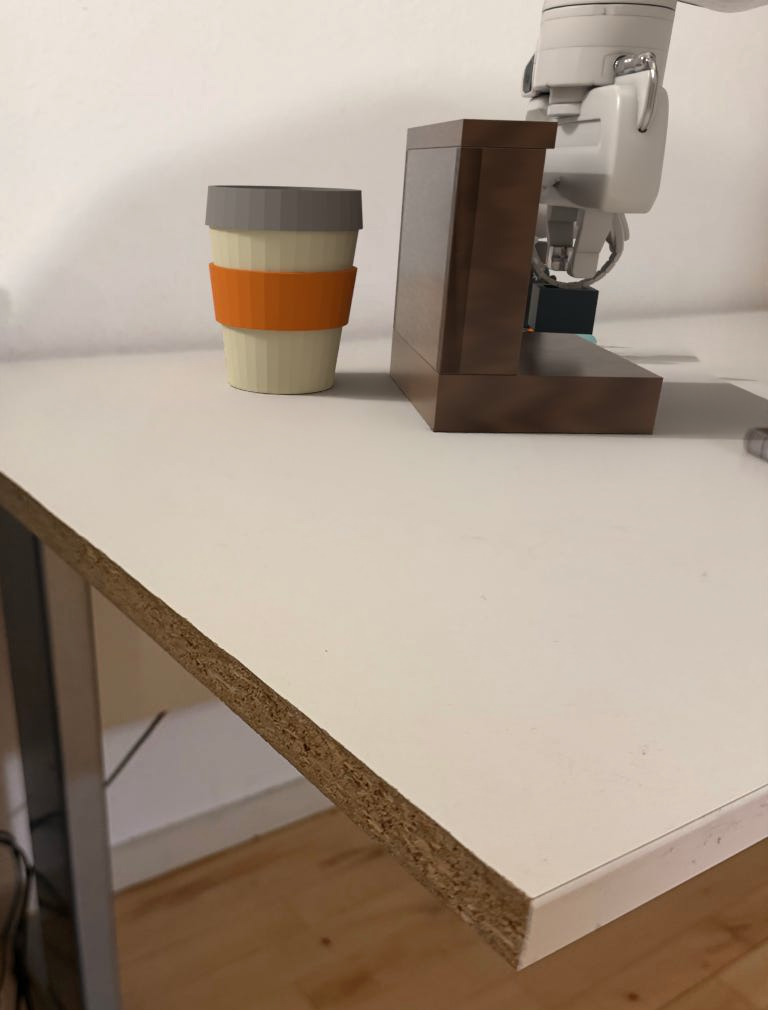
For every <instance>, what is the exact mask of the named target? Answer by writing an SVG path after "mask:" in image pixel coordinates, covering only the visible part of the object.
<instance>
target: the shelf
mask: <svg viewBox="0 0 768 1010" xmlns="http://www.w3.org/2000/svg"><path fill="white" fill-rule="evenodd" d="M557 128H558V122H549V121H524V120H517V119H516V120H515V119H489V118H488V119H487V118H486V119H485V118H484V119H483V118H459V119H453V120H449V121H443V122H437V123H436V122H435V123H432V124H431V123H430V124H425V125H420V126H413V127H408V128H407V129H406V143H405V144H406V145H405V158H404V171H403V172H404V173H403V186H402V199H401V212H400V213H401V214H400V227H399V240H398V242H399V243H398V254H397V255H398V256H397V268H396V269H397V271H396V283H395V298H394V311H393V324H392V336H391V350H390V364H389V377H391V378H392V380H393V381H394V383H395V384H396V385H397V386H398V388H399V389H400V390H401V392H402V394H404V395H405V396H406V398H407V399H408V400H409V402H410V403H411V404H412V406H413V407H414V408H415V410H416V412H418V414H419V415H420V416H421V417H422V418H423V420H424V422H426V424H427V425H428V426H429V428H430V429H431V430H432V432H434V433H435V432H436V433H438V432H439V433H441V432H442V433H446V432H447V433H519V434H521V433H524V434H525V433H531V434H533V433H535V434H613V435H614V434H615V435H616V434H619V435H620V434H622V435H626V434H627V435H628V434H629V435H630V434H631V435H652V434H653V433H654V428H655V423H656V418H657V412H658V408H659V403H660V398H661V392H662V388H663V383H664V377H663V376H660V375H659V374H657V373H655V372H653V371H651V370H648V369H646V368H645V367H643V366H640V365H638V364H636V363H634V362H632V361H630V360H629V359H626V358H624V357H622V356H620V355H618V354H616V353H614V352H612V351H610V350H608V349H606V348H604V347H602V346H600V345H599V344H597V343H596V344H594V343H592V342H590V341H588V340H586V339H584V338H582V337H580V336H578V335H576V334H566V333H544V332H534V331H523V324H524V316H525V309H526V301H527V294H528V286H529V279H530V271H531V263H532V256H533V248H534V241H535V233H536V226H537V218H538V210H539V203H540V195H541V188H542V180H543V172H544V165H545V157H546V149H555V143H556V135H557Z"/></svg>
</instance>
